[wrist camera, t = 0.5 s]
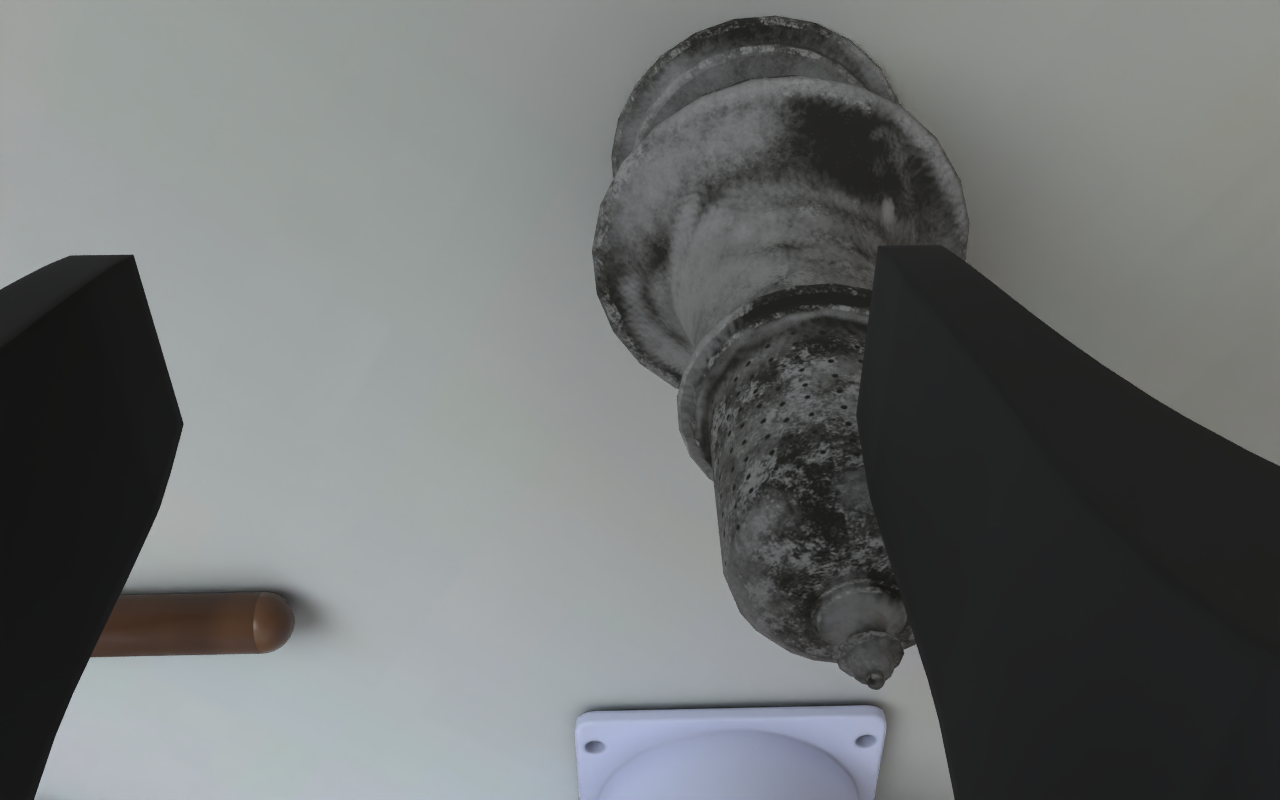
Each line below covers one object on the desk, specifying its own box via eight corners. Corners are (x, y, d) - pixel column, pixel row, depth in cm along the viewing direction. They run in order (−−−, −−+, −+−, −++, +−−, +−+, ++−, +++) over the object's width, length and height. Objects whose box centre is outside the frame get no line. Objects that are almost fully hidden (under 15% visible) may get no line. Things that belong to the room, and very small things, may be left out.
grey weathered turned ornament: (632, 324, 23) (646, 887, 14) (560, 39, 20) (508, 519, 10) (930, 269, 23) (1166, 817, 13) (908, -37, 19) (1207, 401, 10)
